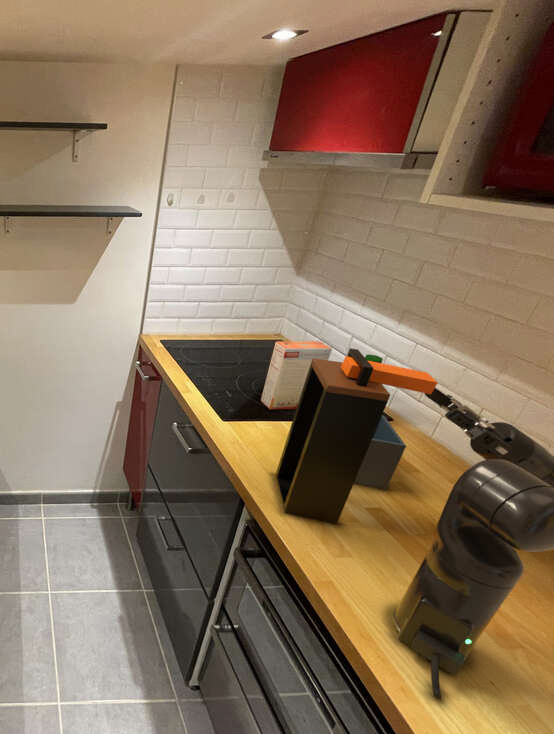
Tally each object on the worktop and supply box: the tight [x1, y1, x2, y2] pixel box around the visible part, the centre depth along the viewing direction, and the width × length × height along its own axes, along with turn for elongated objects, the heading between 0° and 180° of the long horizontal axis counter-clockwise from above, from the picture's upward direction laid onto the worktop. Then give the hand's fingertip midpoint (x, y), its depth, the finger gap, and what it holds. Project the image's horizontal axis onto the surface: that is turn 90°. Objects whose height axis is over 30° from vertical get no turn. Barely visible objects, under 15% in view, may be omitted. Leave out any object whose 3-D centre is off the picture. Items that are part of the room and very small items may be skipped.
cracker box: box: [260, 340, 333, 410], centre depth 136 cm, size 14×6×21 cm, turn 92°
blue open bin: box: [354, 415, 407, 490], centre depth 110 cm, size 13×13×13 cm
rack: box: [274, 348, 391, 525], centre depth 95 cm, size 10×13×36 cm
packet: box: [341, 355, 439, 394], centre depth 86 cm, size 14×4×3 cm, turn 71°
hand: (439, 401), depth 85 cm, fingers open, 8 cm apart
